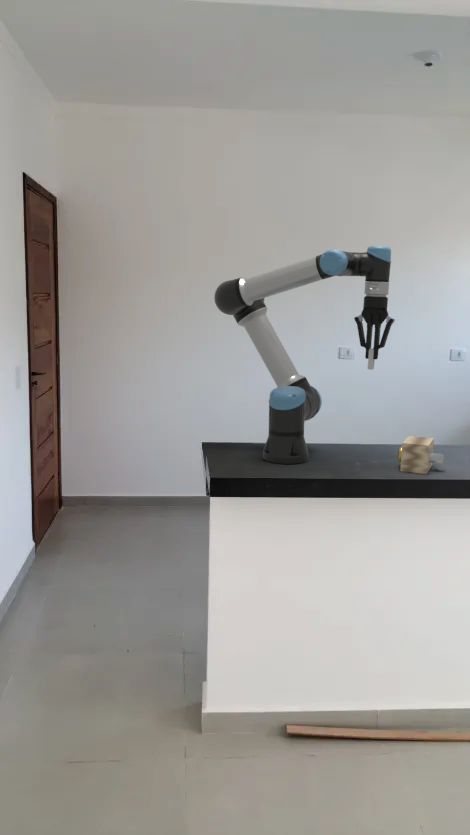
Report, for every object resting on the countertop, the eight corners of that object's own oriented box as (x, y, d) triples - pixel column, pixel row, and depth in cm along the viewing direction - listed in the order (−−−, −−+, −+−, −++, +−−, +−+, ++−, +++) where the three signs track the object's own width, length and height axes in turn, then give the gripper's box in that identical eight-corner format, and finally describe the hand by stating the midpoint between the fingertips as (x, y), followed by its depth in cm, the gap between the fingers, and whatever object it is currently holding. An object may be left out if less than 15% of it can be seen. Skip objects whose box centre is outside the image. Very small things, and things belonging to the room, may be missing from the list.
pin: (397, 463, 220) (398, 448, 219) (400, 460, 225) (401, 444, 224) (441, 468, 215) (442, 452, 214) (443, 464, 220) (444, 449, 219)
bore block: (400, 471, 217) (402, 442, 215) (406, 462, 228) (408, 435, 226) (426, 474, 214) (428, 445, 212) (432, 465, 225) (433, 438, 223)
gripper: (353, 295, 222) (348, 368, 226) (394, 296, 217) (388, 371, 221) (359, 295, 228) (354, 366, 233) (398, 296, 223) (393, 369, 228)
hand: (370, 369), depth 227 cm, fingers closed
